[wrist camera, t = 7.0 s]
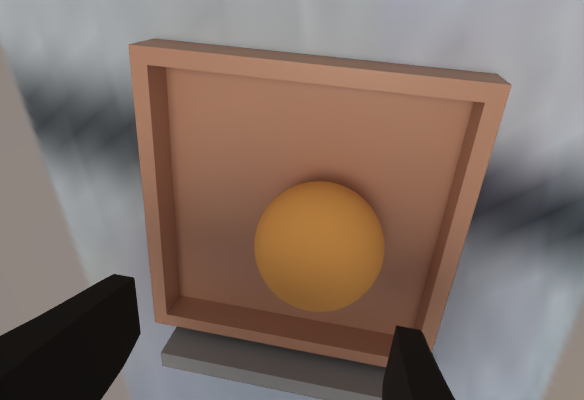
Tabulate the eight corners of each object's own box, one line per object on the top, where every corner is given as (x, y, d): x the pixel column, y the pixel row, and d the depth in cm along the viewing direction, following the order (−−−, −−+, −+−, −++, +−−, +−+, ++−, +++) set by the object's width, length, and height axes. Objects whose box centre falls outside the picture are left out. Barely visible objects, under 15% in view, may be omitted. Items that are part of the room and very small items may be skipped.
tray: (421, 343, 20) (424, 374, 18) (172, 297, 22) (155, 322, 20) (497, 74, 14) (511, 85, 13) (153, 38, 16) (128, 44, 14)
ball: (319, 273, 19) (363, 350, 15) (224, 246, 17) (246, 327, 13) (372, 184, 18) (435, 244, 14) (275, 144, 16) (317, 200, 12)
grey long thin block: (429, 366, 20) (436, 423, 18) (188, 320, 22) (162, 365, 19) (433, 354, 20) (441, 410, 17) (188, 307, 22) (161, 352, 19)
